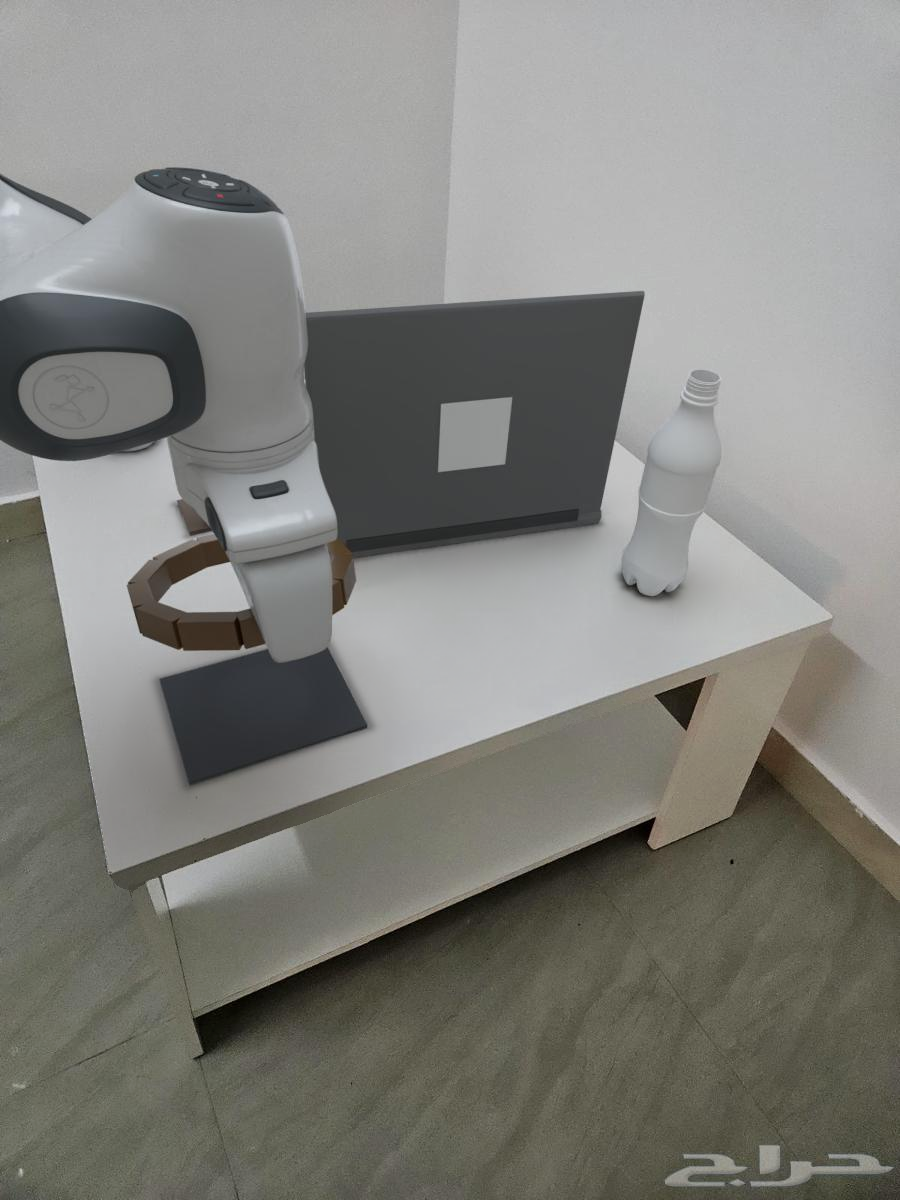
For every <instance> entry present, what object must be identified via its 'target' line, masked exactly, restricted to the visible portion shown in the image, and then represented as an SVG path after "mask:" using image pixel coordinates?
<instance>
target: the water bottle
mask: <svg viewBox="0 0 900 1200" xmlns="http://www.w3.org/2000/svg"><path fill="white" fill-rule="evenodd" d="M721 381H722V377H721V375H720V374H719V373H717V372H715V371H713V370H710V369H705V368H696V369H692V370H690V371H689V373H688V375H687V379H686V382H685V385H684V386H683V388H682V390H681V392H680V395H679V398H680V403H679V405H678V406H677V408H676V409H675V410H674V411H673V413H671V415H669V416H668V418H667V419H666V420H665V421H664V422H663V423H662V424H661V426H660V427H659V428H658V429H657V430H656V431H655V433H654V434H653V435H652V437H651V439H650V441H649V443H648V447H647V455H646V459H645V463H644V468H643V472H642V476H641V481H640V485H639V486H638V490H637V494H638V508H637V518H636V522H635V525H634V530H633V532H632V535H631V537H630V539H629V542H628V543H627V545H626V546H625V548H624V549H623V551H622V555H621V572H622V576H623V579H624V581H625V583H626V584H627V585H628V586H633V585H635V584H636V586H637V590H638V591H639V594H640V593H641V594H642V595H643V596H648V597H655V596H658V595H659V594H661V593H662V592H663V591H665V592H666V593H672V592H674V590H676V588H678V587H679V585H680V584H681V583H682V581H683V580H684V578H685V576H686V573H687V571H688V568H689V547H690V542H691V541H690V540H691V536H692V533H693V529H694V527H695V524H696V522H697V520H698V519H699V518H700V516H701V515H702V514H703V513H704V512H705V511H706V508H707V505H708V499H709V495H710V492H711V488H712V485H713V482H714V479H715V475H716V472H717V470H718V468H719V466H720V463H721V459H722V445H721V440H720V436H719V431H718V428H717V424H716V421H715V415H714V414H715V412H714V410H715V406H717V405H718V404H719V389H720V385H721Z"/></svg>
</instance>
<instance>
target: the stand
mask: <svg viewBox="0 0 900 1200" xmlns="http://www.w3.org/2000/svg"><path fill="white" fill-rule="evenodd" d="M176 502H177V503H176V504H177V506H178V508H179V511H180V514H181V516H182V519H183V522H184V524H185V526H186V530H187V532H188V534H189V536H195V535H199V534H204V533H208V532H213V531H212V530H211V528H210V527H209V525H208V524H207V523H206V522H205V521H204V520H203V519H202V518H201V517H200V515H199V514H198V513H197V512H196V510H195V509H194V508H193V507H191V506H190V505H188V504H187V503H186V502H185V501H184V500H183V499H182V498H180V499H177V500H176Z"/></svg>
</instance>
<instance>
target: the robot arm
mask: <svg viewBox="0 0 900 1200" xmlns="http://www.w3.org/2000/svg"><path fill="white" fill-rule="evenodd" d="M306 313H307V312H306V303H305V294H304V288H303V280H302V273H301V267H300V260H299V256H298V250H297V246H296V242H295V237H294V235H293V231H292V228H291V226H290V223H289V220H288V218H287V216H286V215H285V213H284V212H283V210H282V209H281V208H279V206H278V204H276V203H275V202H274V200H272V199H271V198H270V197H269V196H268V195H267V194H265V193H264V192H263V191H261V190H260V189H258V188H257V187H255V186H254V185H252V184H250V183H248V182H247V181H245V180H243V179H237V178H234V177H231V176H230V175H227V174H225V173H220V172H216V171H210V170H207V169H200V168H193V167H171V166H170V167H169V166H168V167H165V168H155V169H154V168H153V169H149V170H146V171H143V172H140V173H138V174H137V175H136V176H134V178H132V181H131V182H130V184H129V185H128V187H127V188H126V189H125V190H124V191H123V193H122V194H121V195H119V196H118V197H117V198H116V199H115V200H114V201H113V202H111V203H110V204H109V205H108V206H106V208H104V209H103V210H102V211H101V212H100V213H98V214H97V215H96V216H94V217H93V218H91V217H90V216H89V215H87V214H85V213H83V212H82V211H80V210H79V209H76V208H75V207H73V206H71V205H68V204H66V203H64V202H61V201H59V200H58V199H55V198H52V197H50V196H48V195H46V194H44V193H41V192H38V191H36V190H34V189H31V188H29V187H27V186H24V185H22V184H20V183H18V182H16V181H14V180H12V179H11V178H9V177H7V176H5V175H3V174H2V173H0V441H1V442H2V443H4V444H6V445H7V446H9V447H11V448H13V449H15V450H17V451H19V452H22V453H25V454H27V455H30V456H33V457H37V458H39V459H44V460H51V461H57V462H58V461H59V462H79V461H80V462H81V461H87V460H93V459H97V458H101V457H105V456H109V455H113V454H116V453H121V452H125V451H124V450H128V449H131V448H134V447H138V446H141V445H145V444H148V443H151V442H153V443H154V442H157V441H160V440H162V439H165V438H166V441H167V446H168V451H169V456H170V461H171V466H172V472H173V476H174V481H175V486H176V490H177V493H178V495H179V497H180V499H183V500H184V501H185V502H186V503H187V504H188V505H190V506H191V507H193V508H194V509H195V510H196V512H197V513H198V514H199V515H200V517H201V518H202V519H203V520H204V521H205V522H206V523H207V524H208V525H209V527H210V528H211V530H212V531H211V532H212V534H215V536H216V537H217V539H218V541H219V543H220V544H221V546H222V548H223V550H224V551H225V552H226V554H227V556H228V558H229V560H230V562H229V563H230V565H231V568H233V569H232V570H233V571H234V573H235V576H236V578H237V581H238V583H239V585H240V587H241V590H242V592H243V595H244V597H245V600H246V602H247V604H248V607H249V609H250V608H251V610H252V613H253V615H254V617H255V620H256V622H257V624H258V627H259V630H260V632H261V634H262V637H263V639H264V640H265V643H266V644H265V645H266V649H268V651H269V653H270V655H271V657H272V659H273V660H274V661H275V662H278V663H283V662H288V661H293V660H297V659H301V658H304V657H308V656H311V655H314V654H316V653H319V652H321V651H323V650H324V649H325V648H326V647H328V646H329V645H330V643H331V640H332V634H333V615H332V571H331V562H330V556H329V551H328V547H327V544H326V543H329V542H332V541H335V540H336V538H337V518H336V514H335V511H334V508H333V505H332V501H331V499H330V496H329V494H328V491H327V488H326V486H325V483H324V480H323V477H322V475H321V473H320V469H319V458H318V447H317V444H316V442H315V433H314V421H313V408H312V402H311V399H310V396H309V394H308V391H307V389H306V385H305V371H304V364H305V360H306V356H307V350H308V334H307V323H306Z"/></svg>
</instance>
